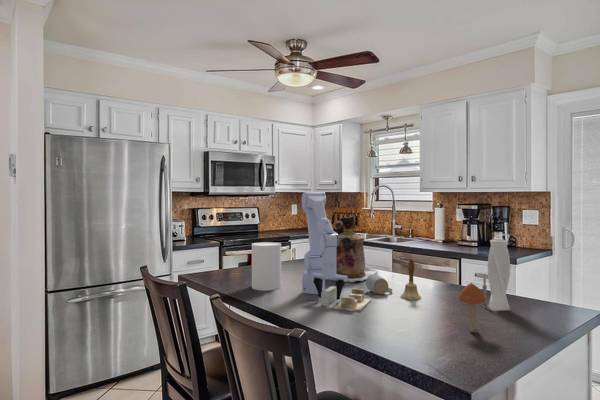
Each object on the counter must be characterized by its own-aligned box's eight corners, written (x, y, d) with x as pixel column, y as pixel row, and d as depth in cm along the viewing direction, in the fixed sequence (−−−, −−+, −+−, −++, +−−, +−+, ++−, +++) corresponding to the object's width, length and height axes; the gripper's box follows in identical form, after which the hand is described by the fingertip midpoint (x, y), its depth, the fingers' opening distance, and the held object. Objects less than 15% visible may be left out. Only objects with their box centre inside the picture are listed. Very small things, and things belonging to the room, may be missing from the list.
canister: (263, 292, 175) (263, 246, 174) (246, 286, 185) (246, 243, 184) (287, 287, 183) (287, 243, 183) (269, 282, 194) (269, 241, 193)
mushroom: (453, 327, 127) (453, 280, 127) (477, 326, 128) (477, 280, 127) (466, 336, 119) (466, 286, 119) (491, 335, 120) (491, 285, 119)
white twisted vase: (500, 305, 153) (500, 232, 153) (515, 311, 145) (515, 234, 145) (480, 306, 152) (481, 233, 151) (494, 313, 144) (494, 235, 143)
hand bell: (422, 296, 166) (422, 258, 166) (419, 301, 159) (419, 261, 159) (402, 294, 170) (402, 256, 170) (398, 298, 162) (398, 259, 162)
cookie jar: (338, 270, 224) (338, 213, 224) (379, 275, 210) (379, 215, 210) (314, 278, 204) (314, 215, 204) (357, 284, 190) (357, 217, 190)
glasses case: (321, 305, 153) (321, 292, 153) (331, 298, 164) (331, 286, 164) (327, 306, 152) (327, 293, 152) (337, 298, 163) (337, 286, 163)
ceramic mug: (374, 296, 167) (374, 277, 167) (365, 291, 175) (365, 274, 175) (396, 294, 170) (396, 276, 170) (386, 290, 178) (386, 273, 178)
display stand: (334, 308, 148) (334, 296, 148) (346, 298, 163) (346, 287, 163) (360, 311, 144) (360, 299, 144) (370, 301, 159) (370, 289, 159)
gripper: (308, 264, 157) (308, 298, 158) (343, 266, 152) (343, 302, 152) (314, 261, 164) (315, 294, 164) (349, 263, 158) (349, 297, 158)
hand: (329, 298), depth 158 cm, fingers open, 7 cm apart
